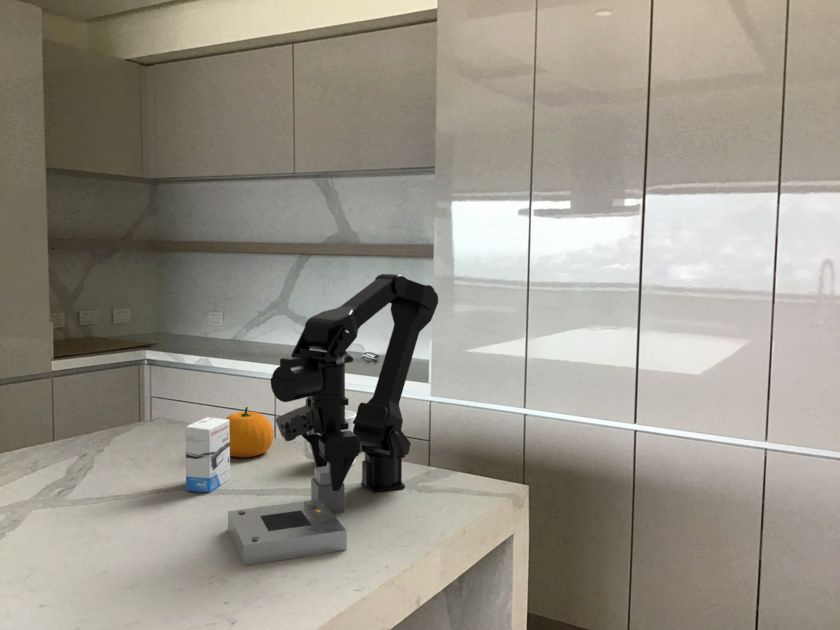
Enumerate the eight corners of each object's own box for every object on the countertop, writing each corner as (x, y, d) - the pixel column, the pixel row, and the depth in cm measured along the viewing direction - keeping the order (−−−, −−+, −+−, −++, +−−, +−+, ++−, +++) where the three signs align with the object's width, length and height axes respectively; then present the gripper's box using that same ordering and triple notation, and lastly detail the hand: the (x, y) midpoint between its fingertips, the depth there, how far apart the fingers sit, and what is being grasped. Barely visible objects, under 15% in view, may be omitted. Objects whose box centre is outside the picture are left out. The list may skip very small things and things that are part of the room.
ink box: (210, 493, 134) (209, 429, 132) (184, 491, 135) (183, 427, 133) (231, 478, 142) (230, 417, 141) (207, 476, 143) (206, 416, 142)
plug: (336, 503, 130) (336, 464, 129) (344, 512, 126) (344, 471, 125) (311, 506, 128) (311, 467, 127) (318, 515, 124) (318, 474, 123)
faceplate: (320, 516, 123) (320, 494, 123) (346, 549, 110) (346, 524, 110) (228, 529, 117) (227, 506, 117) (243, 566, 105) (243, 539, 104)
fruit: (248, 442, 167) (248, 398, 166) (285, 451, 160) (285, 406, 159) (205, 454, 157) (204, 408, 156) (243, 465, 151) (242, 416, 150)
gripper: (268, 384, 130) (269, 471, 132) (293, 407, 113) (294, 507, 115) (329, 380, 134) (330, 464, 136) (363, 401, 117) (363, 497, 119)
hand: (328, 482), depth 126 cm, fingers open, 9 cm apart
